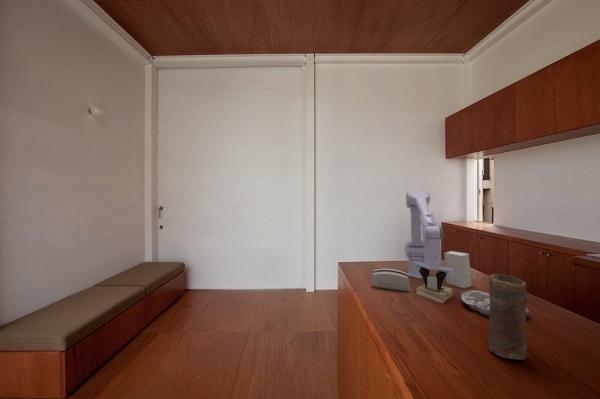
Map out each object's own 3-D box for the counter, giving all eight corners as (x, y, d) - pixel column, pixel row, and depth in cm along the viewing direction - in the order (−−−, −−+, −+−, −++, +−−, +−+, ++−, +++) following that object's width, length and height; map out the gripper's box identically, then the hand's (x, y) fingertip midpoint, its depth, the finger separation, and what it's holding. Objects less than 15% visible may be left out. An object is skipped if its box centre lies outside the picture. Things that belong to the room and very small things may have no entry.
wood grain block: (437, 295, 98) (437, 278, 97) (427, 292, 100) (427, 276, 100) (441, 292, 100) (441, 276, 100) (430, 289, 103) (430, 274, 103)
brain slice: (447, 303, 94) (447, 295, 94) (477, 296, 100) (477, 288, 100) (505, 328, 75) (505, 318, 75) (538, 317, 81) (538, 309, 81)
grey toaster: (411, 287, 110) (410, 268, 107) (410, 294, 106) (410, 275, 103) (373, 282, 117) (371, 265, 114) (371, 289, 113) (369, 271, 110)
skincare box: (471, 286, 109) (470, 253, 109) (463, 289, 106) (462, 255, 106) (452, 281, 116) (452, 250, 116) (444, 283, 114) (444, 251, 114)
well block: (427, 289, 107) (427, 282, 107) (452, 296, 100) (452, 288, 100) (416, 295, 101) (416, 288, 101) (442, 303, 93) (442, 295, 93)
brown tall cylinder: (518, 348, 65) (516, 274, 65) (534, 367, 58) (532, 283, 58) (484, 343, 68) (483, 272, 67) (496, 360, 61) (494, 281, 60)
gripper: (410, 253, 103) (410, 285, 103) (448, 259, 91) (448, 295, 91) (418, 250, 107) (418, 281, 107) (455, 256, 96) (455, 290, 96)
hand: (433, 287), depth 100 cm, fingers closed on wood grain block, 4 cm apart
